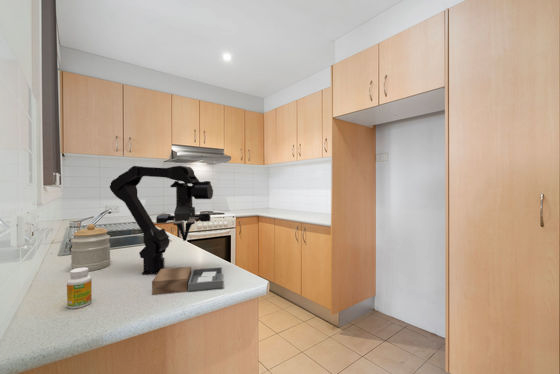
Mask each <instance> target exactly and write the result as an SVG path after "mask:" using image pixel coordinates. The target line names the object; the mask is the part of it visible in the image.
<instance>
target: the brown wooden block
mask: <svg viewBox="0 0 560 374" xmlns="http://www.w3.org/2000/svg"><path fill="white" fill-rule="evenodd" d="M191 273H192V266H185V267H183V266H181V267H169V268H164V269H161V270H160V271H159V272H158V273H156V275H155V276H154V278H153V279H152V281H151V294H152V296H153V295H162V294H163V295H166V294H172V293H173V294H174V293H175V292H176V293H183V292H188V282H189V279H190V276H191Z"/></svg>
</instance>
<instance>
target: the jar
mask: <svg viewBox="0 0 560 374" xmlns="http://www.w3.org/2000/svg"><path fill="white" fill-rule="evenodd" d="M108 231H109V230H107V229H105V228H103V227H96V226H95V224H94V223H89V224H88V225H87V226H86V228H84V229H83V228H82V229H79V230H77V231H76V232H74V233H73V236H74V237H73V238H72V239H70V242H71V243H72V245H71V248H70V251H71V262H70V268H71V270H73V269H77V268H88V272H93V271H97V270H102V269H105V268H107V267H109V266H110V265H111V262H112V261H111V243H110V241H109V240H110V238H111V235H110V234H108Z"/></svg>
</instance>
